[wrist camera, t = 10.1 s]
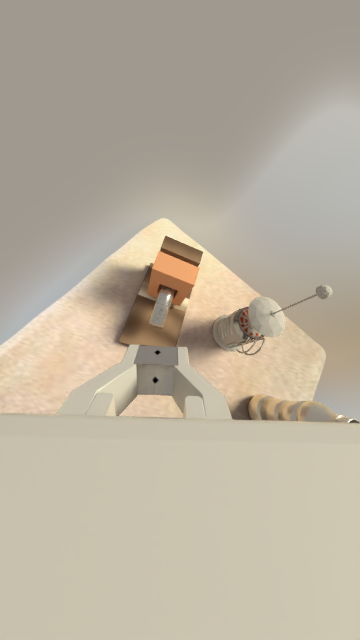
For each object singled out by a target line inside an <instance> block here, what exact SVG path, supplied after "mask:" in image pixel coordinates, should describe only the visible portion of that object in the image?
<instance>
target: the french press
mask: <svg viewBox="0 0 360 640" xmlns="http://www.w3.org/2000/svg"><path fill="white" fill-rule="evenodd" d="M316 293H317V294H315V295H313V296H311V297H309V298H306V299H304V300H302V301H300V302H297V303H295V304H293V305H290V306H288V307H286V308H284V309H281V307H280V306H279V305H278V304H277V303H276V302H275V301H273V300H271V299H270V298H267V297H258V298H255V299H254V300H253V301H252V302H251V303H250V306H249V307H245V308H242V309H239V310H237V311H235V312H234V313H232V315H231V316H230V315H224V316H220V317H219V318H218V319H217V320H216V321H215V322H214V325H213V337H214V339H215V342H216V343H217V344H218V345H219V346H220V348H222V349H224V350H226V351H231V352H235V351H238V350H240V349H241V348H242V350H243V345H244V344H248V343H251V342H254V344H253V345H252V347H253V346H254V345H255V343H256V341H258V340H264V341H263V343H262V346H261V347H260V348H259V350H258V351H256V352H255V353H253V354H247V353H246V352H248V351H249V350H250V349H251V348H252V347H251V348H250V349H249V350H248V351H245V352H244V350H243V352H240V351H238V352H239V353H244V354H246V355H254V354H256V353H257V352H259V351H260V349H261V348H262V347H263V345H264V342H265V339H264V338H263V337H264V336H266V337H276V336H279V335H280V334H281V333H282V332H283V331H284V328H285V316H284V313H283V311H282V310H285V309H287V308H289V307H291V306H294V305H296V304H298V303H301V302H303V301H305V300H308V299H310V298H312V297H315V296H317V295H318V297H319V298H321V299H326V298H328V297H330V296H331V295H332V290H331V288H330V286H327V285H321V286H319V287H317V288H316ZM248 337H250V338H249V340H250V339H251V338H252V339H251V340H250V341H249V340H248ZM260 338H261V339H260ZM253 339H254V340H255V341H254V340H253ZM247 340H248V341H249V342H248V341H247ZM252 340H253V341H252ZM246 341H247V342H246Z"/></svg>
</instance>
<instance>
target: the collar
mask: <svg viewBox="0 0 360 640" xmlns="http://www.w3.org/2000/svg"><path fill="white" fill-rule="evenodd" d="M198 271H199V267H196V266H194V265H192V264H189V263H187V262H184V261H182V260H180V259H177V258H175V257H172V256H170V255H168V254H165V253H163V252H160V251H159V252H158V255H157V257H156V260H155V262H154V265H153V267H152V271H151V276H150V281H149V286H148V291H147V294H148V295H150V296H153V297H156V298H157V297H158V294H159V292H160V289H161V286H162V285H164V286H167V287H169V288H172V289H174V290H175V293H174V296H173V299H172V302H171V303H172V304H174V305H177V306H180V305H181V304H182V302H183V301H184V299H185V298H186V296H187V295H188V294H189V292H190V291H191V289H192V288H193V287H194V285H195V281H196V278H197V274H198Z"/></svg>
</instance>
